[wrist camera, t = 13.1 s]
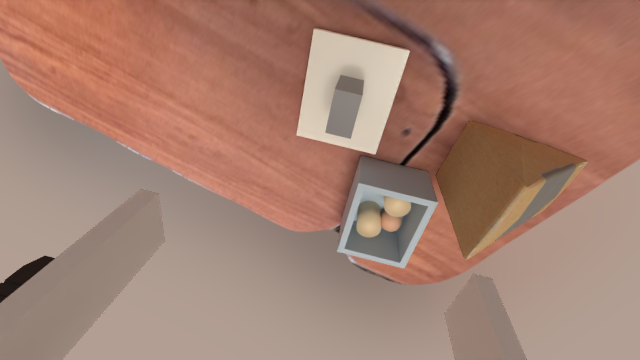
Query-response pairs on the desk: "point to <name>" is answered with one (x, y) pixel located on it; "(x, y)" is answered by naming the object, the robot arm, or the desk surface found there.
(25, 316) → the robot arm
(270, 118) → the desk surface
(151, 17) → the desk surface
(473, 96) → the desk surface
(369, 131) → the lid
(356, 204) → the box
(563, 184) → the sandwich container
